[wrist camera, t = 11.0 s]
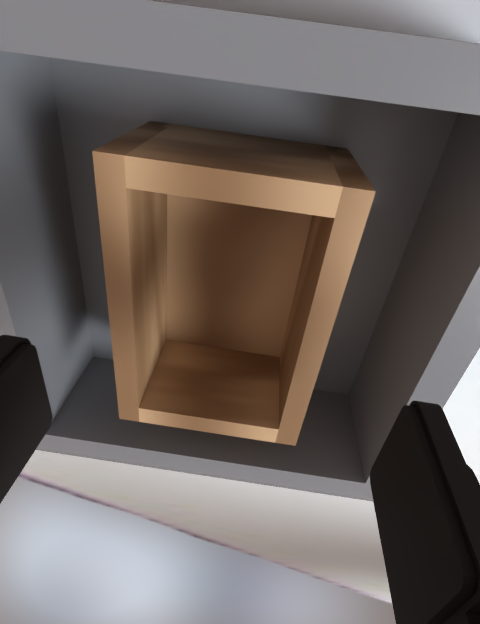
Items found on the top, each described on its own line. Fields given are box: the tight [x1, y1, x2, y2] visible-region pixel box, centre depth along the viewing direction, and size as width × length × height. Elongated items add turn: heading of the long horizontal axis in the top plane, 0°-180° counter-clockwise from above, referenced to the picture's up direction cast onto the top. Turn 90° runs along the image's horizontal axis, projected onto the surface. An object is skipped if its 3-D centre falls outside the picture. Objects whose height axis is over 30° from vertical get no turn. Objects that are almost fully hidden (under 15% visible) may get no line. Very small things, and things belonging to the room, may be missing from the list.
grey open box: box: [0, 0, 480, 501], centre depth 15 cm, size 16×16×6 cm
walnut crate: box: [92, 121, 376, 446], centre depth 14 cm, size 7×10×5 cm
